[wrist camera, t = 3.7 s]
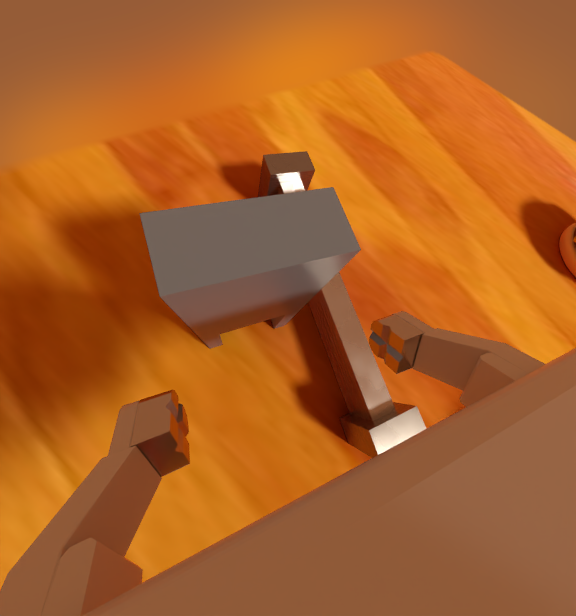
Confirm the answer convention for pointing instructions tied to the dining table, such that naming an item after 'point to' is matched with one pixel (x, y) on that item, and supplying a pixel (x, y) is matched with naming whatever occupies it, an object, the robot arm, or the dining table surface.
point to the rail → (345, 337)
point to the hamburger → (569, 248)
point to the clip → (247, 258)
